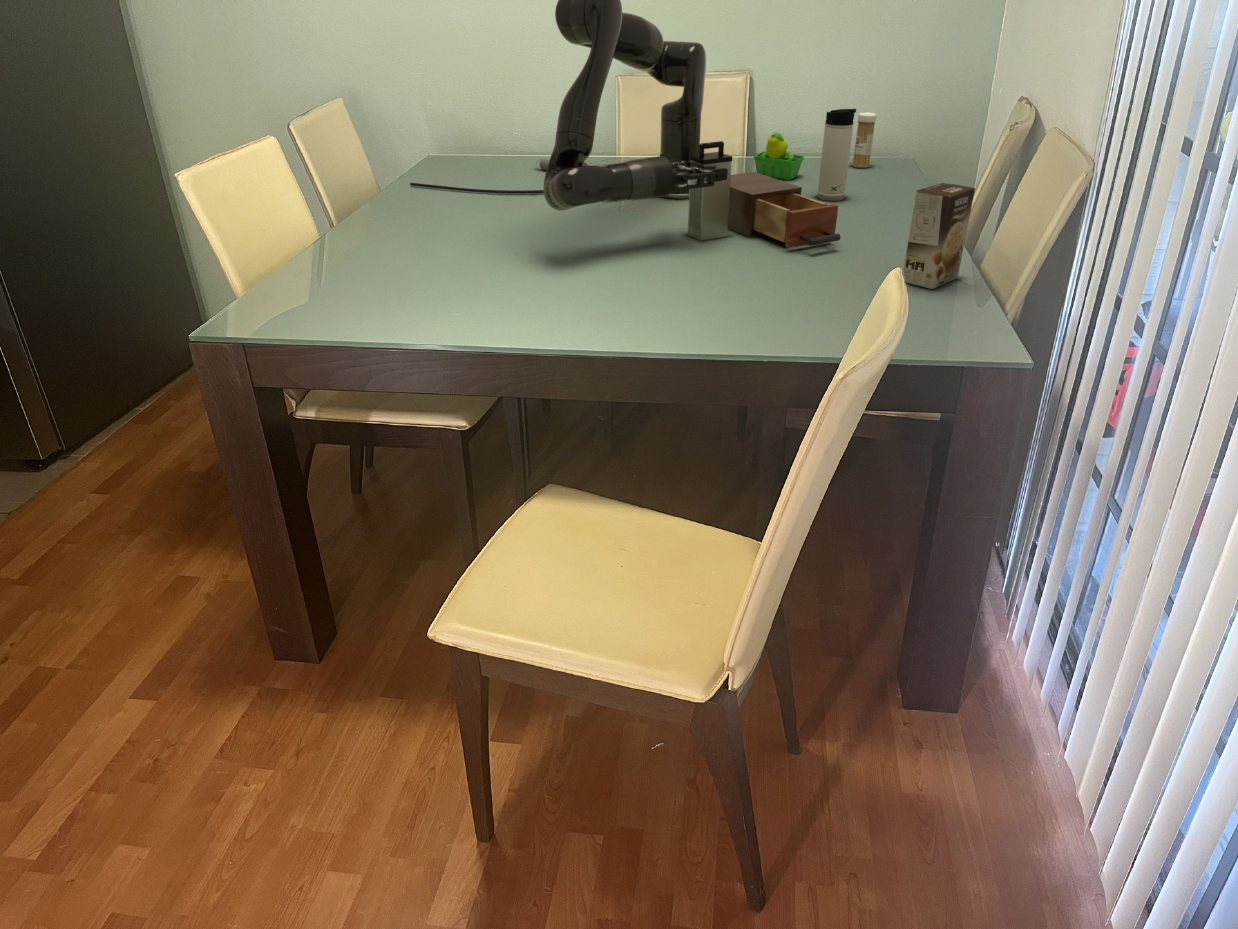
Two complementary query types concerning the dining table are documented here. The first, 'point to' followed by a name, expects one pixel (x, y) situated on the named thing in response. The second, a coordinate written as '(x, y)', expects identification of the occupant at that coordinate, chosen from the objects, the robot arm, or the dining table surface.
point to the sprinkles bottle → (864, 140)
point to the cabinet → (752, 198)
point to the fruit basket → (778, 159)
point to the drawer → (795, 219)
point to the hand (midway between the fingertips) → (714, 169)
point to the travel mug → (835, 154)
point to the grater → (710, 196)
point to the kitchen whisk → (545, 163)
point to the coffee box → (937, 234)
